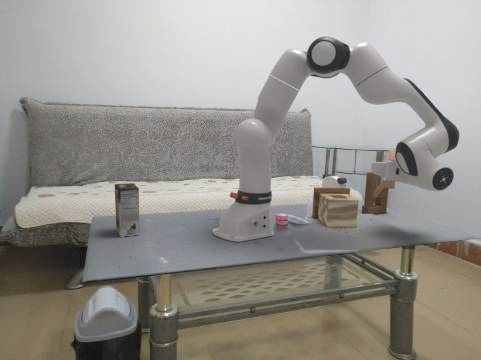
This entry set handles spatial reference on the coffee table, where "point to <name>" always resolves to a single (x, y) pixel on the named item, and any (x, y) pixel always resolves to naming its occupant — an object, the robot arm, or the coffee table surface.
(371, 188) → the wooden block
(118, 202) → the coffee box
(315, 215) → the jig
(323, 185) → the panda figurine
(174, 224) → the coffee table surface
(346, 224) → the socket block
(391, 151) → the dowel
